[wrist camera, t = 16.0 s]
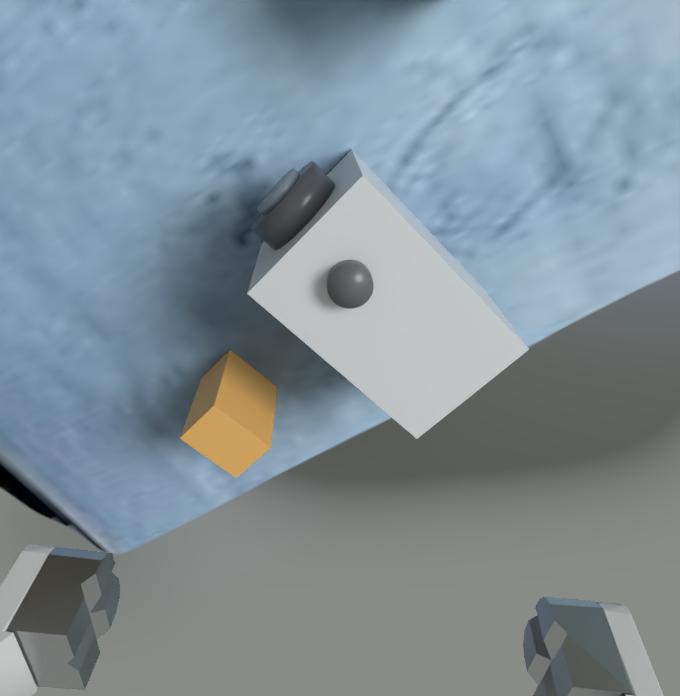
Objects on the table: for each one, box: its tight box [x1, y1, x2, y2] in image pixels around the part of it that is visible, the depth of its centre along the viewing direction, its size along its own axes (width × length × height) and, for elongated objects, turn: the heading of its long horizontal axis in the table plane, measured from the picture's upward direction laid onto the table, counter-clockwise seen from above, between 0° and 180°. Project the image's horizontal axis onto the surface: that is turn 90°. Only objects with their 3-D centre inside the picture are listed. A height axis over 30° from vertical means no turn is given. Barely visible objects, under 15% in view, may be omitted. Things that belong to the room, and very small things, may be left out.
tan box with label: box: [180, 350, 277, 478], centre depth 47 cm, size 4×6×9 cm
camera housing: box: [247, 149, 529, 438], centre depth 40 cm, size 10×19×12 cm, turn 45°
